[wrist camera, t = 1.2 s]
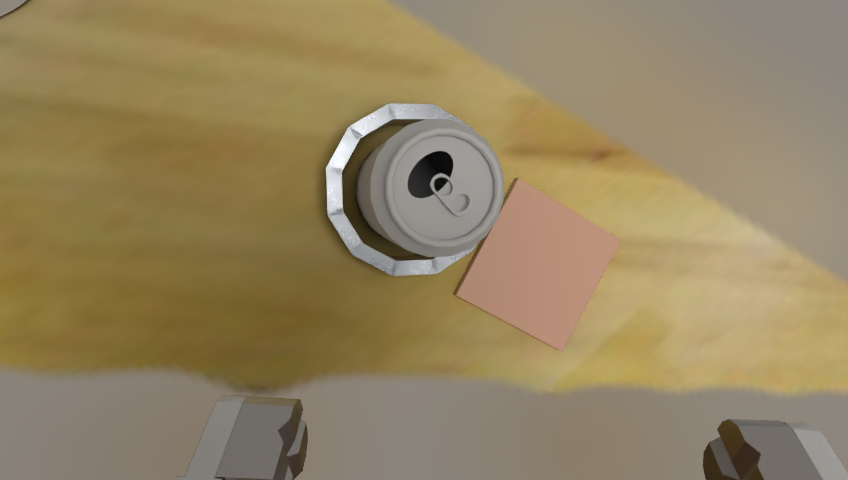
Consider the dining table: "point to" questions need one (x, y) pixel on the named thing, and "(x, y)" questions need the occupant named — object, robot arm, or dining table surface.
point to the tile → (538, 265)
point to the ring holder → (334, 199)
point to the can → (432, 188)
